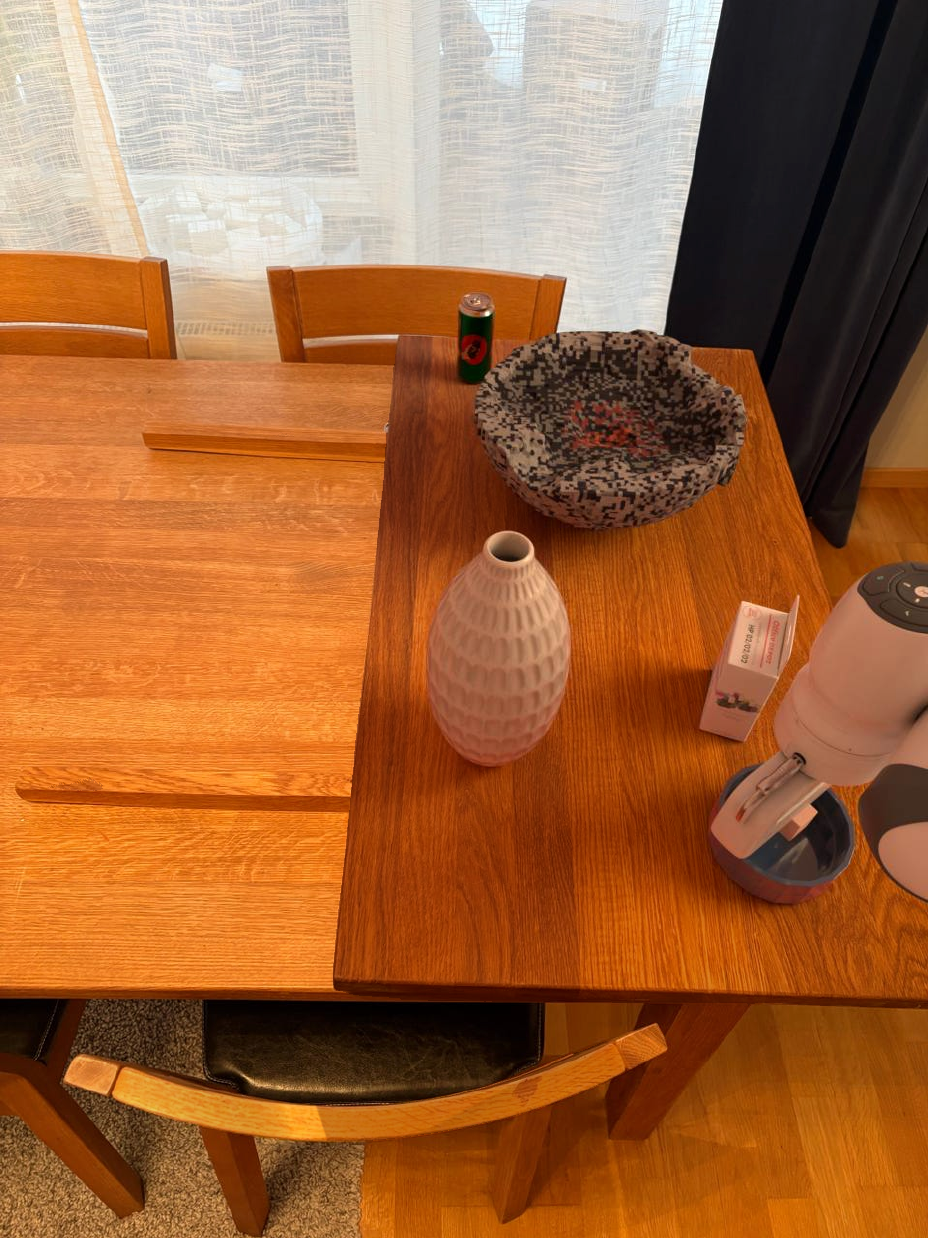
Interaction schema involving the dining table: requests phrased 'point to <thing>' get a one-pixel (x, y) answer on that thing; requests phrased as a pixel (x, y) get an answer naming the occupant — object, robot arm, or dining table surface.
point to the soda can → (475, 337)
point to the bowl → (608, 427)
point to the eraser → (798, 823)
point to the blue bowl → (791, 851)
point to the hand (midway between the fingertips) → (784, 808)
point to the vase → (498, 653)
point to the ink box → (747, 669)
